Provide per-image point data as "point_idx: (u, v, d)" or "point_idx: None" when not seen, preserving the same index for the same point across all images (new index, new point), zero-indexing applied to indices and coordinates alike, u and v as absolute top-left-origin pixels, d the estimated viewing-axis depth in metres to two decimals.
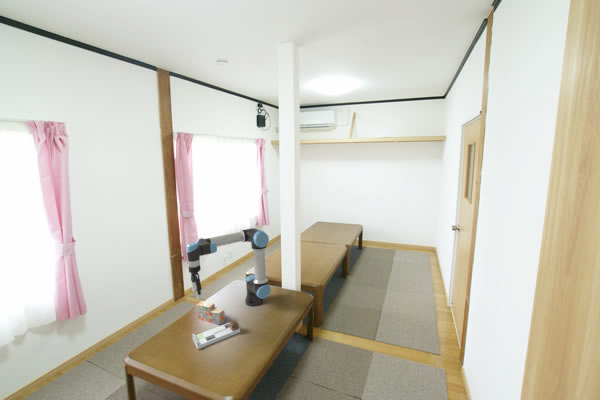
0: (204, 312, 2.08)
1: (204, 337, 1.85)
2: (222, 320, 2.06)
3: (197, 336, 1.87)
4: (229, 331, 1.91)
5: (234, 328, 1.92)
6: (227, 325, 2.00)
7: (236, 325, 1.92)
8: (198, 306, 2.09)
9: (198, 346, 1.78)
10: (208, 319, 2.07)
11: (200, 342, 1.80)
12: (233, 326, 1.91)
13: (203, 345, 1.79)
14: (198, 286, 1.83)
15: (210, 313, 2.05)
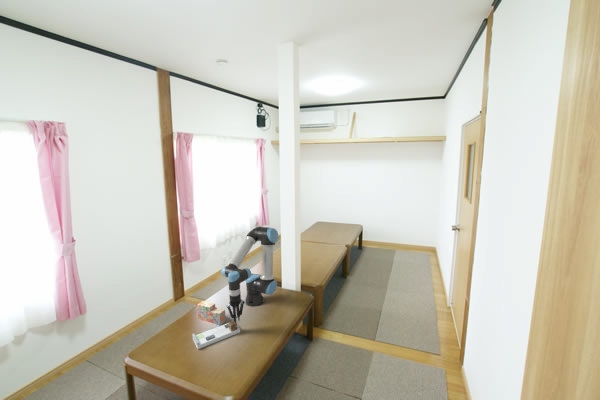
0: (204, 312, 2.07)
1: (204, 337, 1.85)
2: (223, 320, 2.05)
3: (197, 336, 1.87)
4: (229, 331, 1.91)
5: (233, 328, 1.91)
6: (227, 325, 2.00)
7: (235, 325, 1.92)
8: (199, 306, 2.09)
9: (198, 346, 1.78)
10: (208, 319, 2.07)
11: (200, 342, 1.80)
12: (232, 326, 1.91)
13: (203, 345, 1.79)
14: (230, 314, 1.92)
15: (211, 313, 2.05)
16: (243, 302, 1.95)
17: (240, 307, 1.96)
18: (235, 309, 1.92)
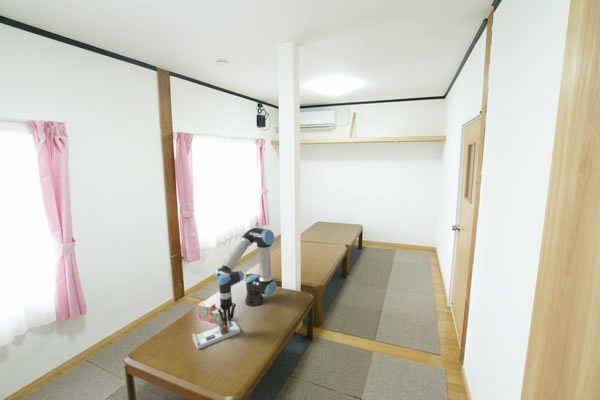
0: (205, 312, 2.07)
1: (204, 337, 1.85)
2: None
3: (197, 336, 1.87)
4: (229, 331, 1.91)
5: (224, 332, 1.88)
6: None
7: (226, 329, 1.88)
8: (199, 306, 2.09)
9: (198, 346, 1.78)
10: (208, 319, 2.07)
11: (200, 342, 1.80)
12: (223, 330, 1.87)
13: (203, 345, 1.79)
14: (221, 317, 1.88)
15: (211, 313, 2.05)
16: (234, 305, 1.91)
17: (231, 310, 1.92)
18: (226, 312, 1.88)
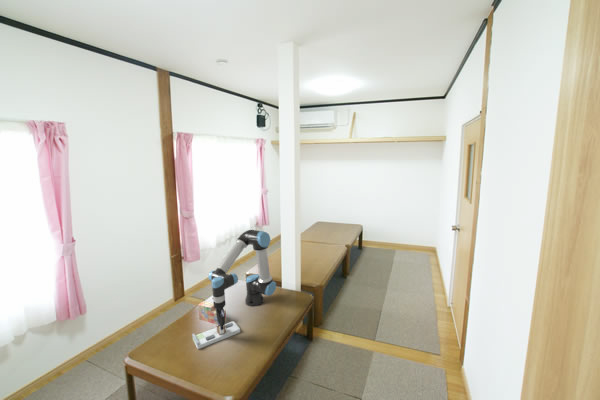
0: (205, 312, 2.07)
1: (204, 337, 1.85)
2: None
3: (197, 336, 1.87)
4: (229, 331, 1.91)
5: None
6: (227, 325, 2.00)
7: None
8: (200, 306, 2.09)
9: (198, 346, 1.78)
10: (209, 319, 2.07)
11: (200, 342, 1.80)
12: None
13: (203, 345, 1.79)
14: (222, 323, 1.82)
15: (212, 313, 2.04)
16: None
17: None
18: None
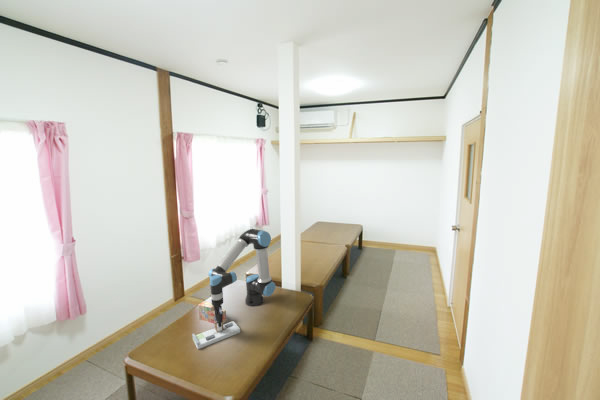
0: (205, 312, 2.07)
1: (204, 337, 1.85)
2: (224, 320, 2.05)
3: (197, 336, 1.87)
4: (229, 331, 1.91)
5: None
6: (227, 325, 2.00)
7: None
8: (200, 306, 2.09)
9: (198, 346, 1.78)
10: (209, 319, 2.07)
11: (200, 342, 1.80)
12: None
13: (203, 345, 1.79)
14: (220, 320, 1.85)
15: (212, 313, 2.04)
16: None
17: (216, 311, 1.91)
18: None
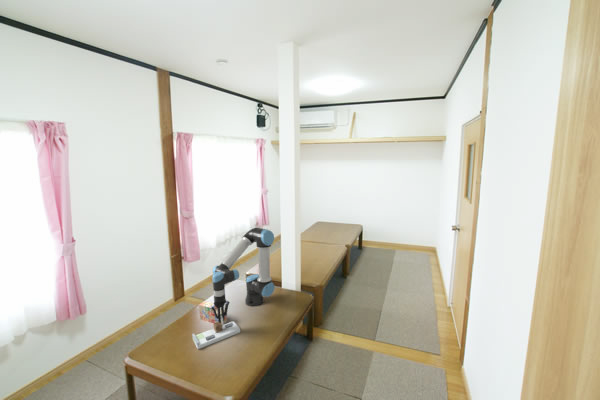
0: (206, 312, 2.07)
1: (204, 337, 1.85)
2: (224, 321, 2.05)
3: (197, 336, 1.87)
4: (229, 331, 1.91)
5: (218, 329, 1.91)
6: (227, 325, 2.00)
7: (220, 326, 1.91)
8: (200, 306, 2.09)
9: (198, 346, 1.78)
10: (210, 319, 2.06)
11: (200, 342, 1.80)
12: (217, 327, 1.90)
13: (203, 345, 1.79)
14: None
15: (213, 313, 2.04)
16: (228, 303, 1.95)
17: (225, 308, 1.96)
18: None
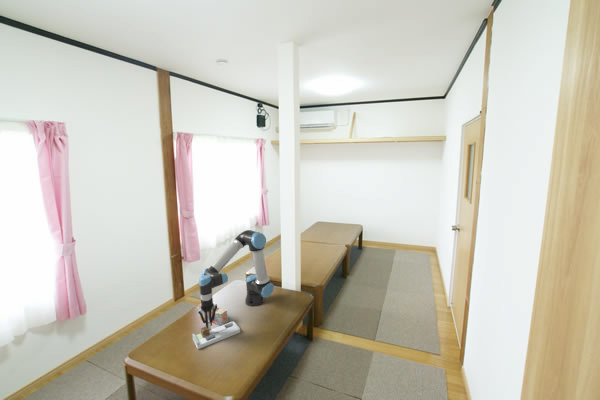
0: None
1: (204, 337, 1.85)
2: (224, 321, 2.05)
3: (197, 336, 1.87)
4: (229, 331, 1.91)
5: (205, 334, 1.86)
6: (227, 325, 2.00)
7: (207, 331, 1.86)
8: None
9: (198, 346, 1.78)
10: None
11: (200, 342, 1.80)
12: (204, 332, 1.85)
13: (203, 345, 1.79)
14: (202, 319, 1.87)
15: None
16: (215, 307, 1.90)
17: (212, 312, 1.91)
18: None
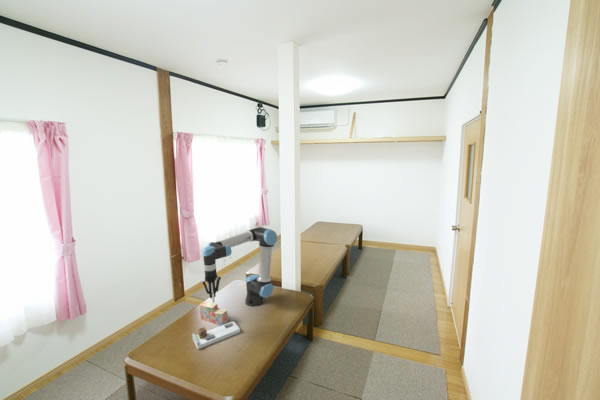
0: (207, 313, 2.07)
1: (204, 337, 1.85)
2: (225, 321, 2.05)
3: (197, 336, 1.87)
4: (229, 331, 1.91)
5: (202, 335, 1.85)
6: (227, 325, 2.00)
7: (204, 332, 1.85)
8: (201, 306, 2.09)
9: (198, 346, 1.78)
10: (211, 320, 2.06)
11: (200, 342, 1.80)
12: (201, 333, 1.84)
13: (203, 345, 1.79)
14: None
15: (213, 313, 2.04)
16: (219, 278, 1.92)
17: (216, 283, 1.93)
18: None
